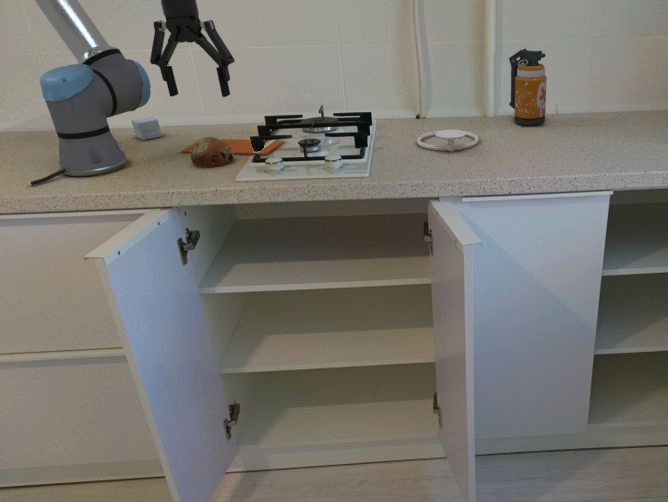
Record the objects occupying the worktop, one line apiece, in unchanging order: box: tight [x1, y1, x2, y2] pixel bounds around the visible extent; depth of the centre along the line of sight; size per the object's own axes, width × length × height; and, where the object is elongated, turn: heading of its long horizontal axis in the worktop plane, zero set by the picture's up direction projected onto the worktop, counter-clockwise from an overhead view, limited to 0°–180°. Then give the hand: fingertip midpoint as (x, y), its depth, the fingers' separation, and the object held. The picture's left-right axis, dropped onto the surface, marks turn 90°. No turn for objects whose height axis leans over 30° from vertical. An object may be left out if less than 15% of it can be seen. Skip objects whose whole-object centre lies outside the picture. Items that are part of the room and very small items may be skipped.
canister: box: [508, 48, 548, 127], centre depth 192 cm, size 9×11×20 cm
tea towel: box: [181, 138, 285, 156], centre depth 182 cm, size 12×24×1 cm, turn 81°
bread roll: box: [189, 136, 235, 169], centre depth 170 cm, size 10×10×8 cm
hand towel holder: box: [416, 129, 480, 153], centre depth 179 cm, size 17×4×21 cm
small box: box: [131, 116, 163, 141], centre depth 192 cm, size 6×6×5 cm
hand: (200, 95), depth 162 cm, fingers open, 13 cm apart
